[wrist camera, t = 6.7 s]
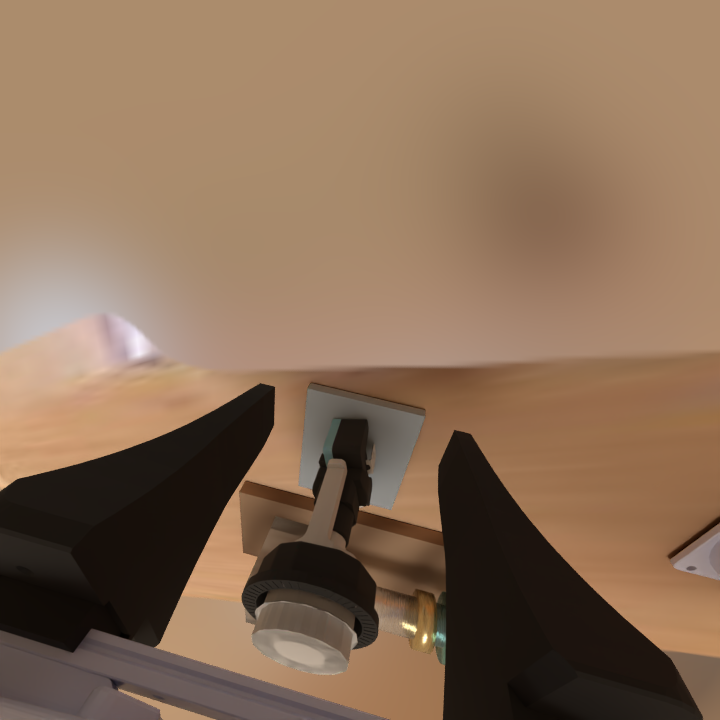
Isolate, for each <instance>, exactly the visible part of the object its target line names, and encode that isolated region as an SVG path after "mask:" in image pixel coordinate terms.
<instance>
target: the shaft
mask: <svg viewBox="0 0 720 720" xmlns="http://www.w3.org/2000/svg"><path fill="white" fill-rule="evenodd" d="M374 608H375V610H376V612H377V614H378V616H379V628H378V630H381V631H385V632H388V633H392V634H395V635H399V636H402V637H406V638H409V644H410V648H411V649H413V650H416V651H420V652H423V653H427V654H431V653H432V651H433V648H434V646H435V647H436V653H437V657H438V660H439V662H440V663H441V664H443V665H445V650H446V592H444V591H443V592H441V594H440V596H439V598H438V601H437V603H436V599H435V596H434V594H433V593H430V592H427V591H423V590H419V589H415V590H414V592H413V595H412V596H411V595H407V594H404V593H400V592H396V591H393V590H389V589H386V588H382V587H379V586H377V587H376V597H375V607H374Z"/></svg>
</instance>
